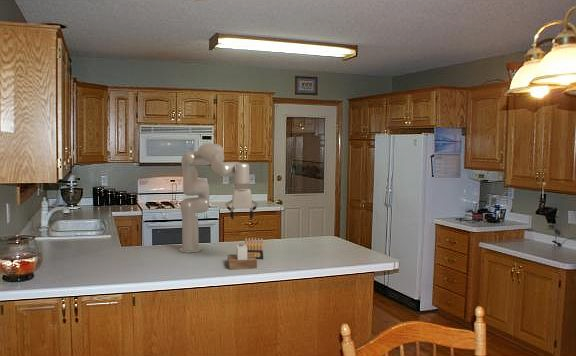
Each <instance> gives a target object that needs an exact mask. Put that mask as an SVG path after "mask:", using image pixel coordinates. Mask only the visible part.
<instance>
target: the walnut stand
mask: <svg viewBox="0 0 576 356" xmlns="http://www.w3.org/2000/svg"><path fill="white" fill-rule="evenodd" d="M257 260H258V259H256V258H255V256H254V254H247V260H238V259H237V256H236V254H227V266H228V268H229V269H228V270H251V269H252V270H253V269H254V270H255V269H258V261H257Z"/></svg>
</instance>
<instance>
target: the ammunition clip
mask: <svg viewBox="0 0 576 356" xmlns="http://www.w3.org/2000/svg"><path fill="white" fill-rule="evenodd" d="M247 238H248V239H247ZM263 242H264V241H263V238H262V237H261V238H259V237H258V238H256V237H255V238H253V237H251V238H250V237H245V239H244V245H246V246H247V254H254V256H255V258H256V260H264V243H263Z"/></svg>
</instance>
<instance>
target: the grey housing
mask: <svg viewBox="0 0 576 356" xmlns="http://www.w3.org/2000/svg"><path fill="white" fill-rule="evenodd" d="M247 249H248V245H247V246H246V245H245V243H244V244H243V243H239V244H236V250H235V251H236V253H235V255H236V256H237V259H238V260H247Z"/></svg>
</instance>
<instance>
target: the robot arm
mask: <svg viewBox="0 0 576 356" xmlns="http://www.w3.org/2000/svg"><path fill="white" fill-rule="evenodd" d="M180 161H181V168H182V192H183V194H184V195H185V196H188V197H187V198H186V197H185V198H184V199H182V200H181V201H180V205H179V206H180V213H181V221H182V222H181V224H182V226H181V228H182V229H181V230H182V231H181V233H182V234H181V239H182V240H181V241H182V245H181V246H182V247H180V248H179V252H181V253H190V254H191V253H198V252H200V251H202V247H200V245H199V240H200V239H199V220H198V217H197V215H196V214H203V213H206V212H208V210H209V207H210V185H209V182H208V181H207V180H206V179H204V178H198V177H199V175H198V174H199V173H198V170H197V168H196V167H197V166H198V167H200V166H206V167H207V166H211V170H212V171H213V172H214V173H215V174H217V175H219V176H220V177H234V183H233V184H231V187H232V188H234V189H233V190H232V197H231V198H232V199H231V200H229V201H227V202H225V203H224V204H225V207H226V208H227V209H228V211H230V219H231V220H234V210H235V209H238V210H239V209H240V210H241V209H249V219H250V220H253V218H254V211H255V210H257V208H258V205H259V203H258V202H257V201H256V200H255V201H254V200H253V198H252V190H251V189H250V164H249V163H247V162H240V161H239V162H238V161H226V162H224V161H225V154H224V148H223V146H222V145H221V144H218V143H203V144H202V145H200V146H199V147H198V150H191V151H187V152H185V153H183V155H182V157H181V160H180ZM189 196H197V197H189ZM230 204H231V205H232V207H230ZM253 204H254V206H253V207H252V205H253Z"/></svg>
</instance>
